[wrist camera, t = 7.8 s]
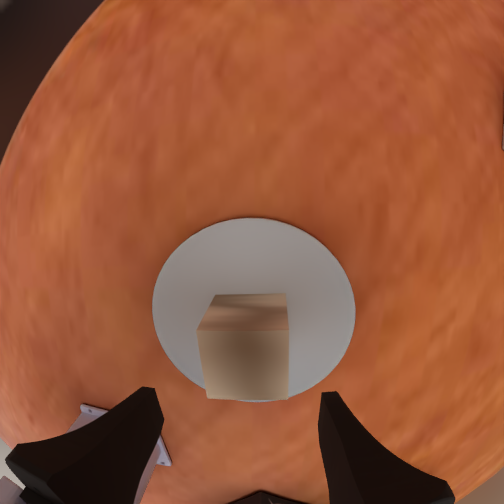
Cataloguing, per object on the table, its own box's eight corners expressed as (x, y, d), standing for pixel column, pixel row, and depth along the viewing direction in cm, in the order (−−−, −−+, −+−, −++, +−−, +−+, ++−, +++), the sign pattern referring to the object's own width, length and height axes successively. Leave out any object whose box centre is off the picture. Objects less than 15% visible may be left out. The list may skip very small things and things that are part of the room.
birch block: (221, 353, 19) (207, 398, 15) (215, 294, 18) (195, 330, 14) (285, 352, 19) (288, 399, 14) (285, 293, 18) (288, 330, 13)
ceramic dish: (175, 388, 22) (171, 396, 21) (146, 222, 19) (139, 225, 18) (342, 388, 21) (344, 397, 20) (354, 213, 18) (359, 215, 17)
